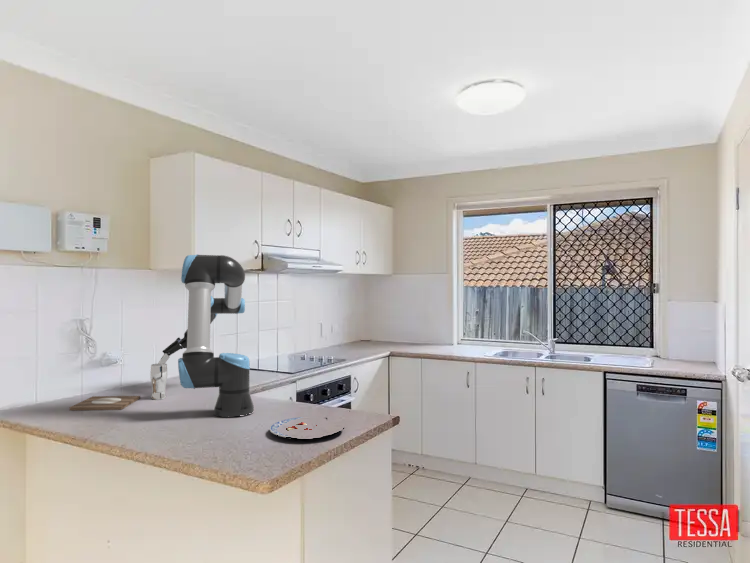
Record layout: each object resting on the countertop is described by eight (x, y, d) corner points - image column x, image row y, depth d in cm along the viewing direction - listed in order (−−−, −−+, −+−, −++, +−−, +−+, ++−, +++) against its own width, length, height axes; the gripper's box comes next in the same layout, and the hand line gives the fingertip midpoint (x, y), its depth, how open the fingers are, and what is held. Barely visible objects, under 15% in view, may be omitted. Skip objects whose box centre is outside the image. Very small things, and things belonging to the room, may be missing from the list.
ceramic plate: (315, 449, 157) (315, 439, 157) (253, 436, 169) (253, 427, 170) (358, 429, 179) (358, 420, 179) (300, 419, 192) (300, 411, 192)
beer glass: (170, 397, 226) (170, 363, 227) (159, 400, 220) (160, 366, 220) (157, 396, 228) (157, 363, 228) (146, 399, 222) (146, 365, 222)
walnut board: (121, 409, 203) (121, 405, 203) (69, 410, 202) (69, 406, 202) (139, 398, 223) (140, 395, 223) (92, 399, 221) (92, 395, 221)
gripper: (218, 338, 240) (193, 374, 227) (181, 335, 252) (155, 370, 238) (210, 328, 236) (184, 364, 222) (172, 325, 247) (146, 360, 233)
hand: (169, 367), depth 230 cm, fingers open, 13 cm apart
